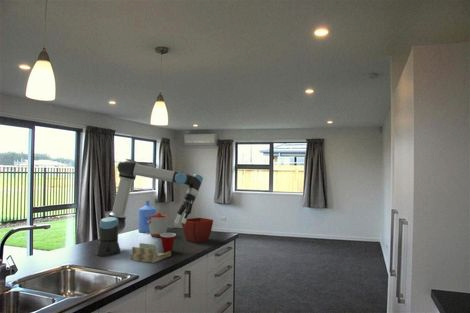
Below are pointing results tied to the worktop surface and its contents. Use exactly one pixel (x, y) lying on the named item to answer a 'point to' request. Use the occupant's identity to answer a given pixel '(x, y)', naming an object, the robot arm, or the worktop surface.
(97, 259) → the worktop surface
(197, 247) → the worktop surface
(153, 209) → the water jug
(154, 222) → the citrus juicer
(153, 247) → the pusher
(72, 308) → the worktop surface
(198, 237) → the plant pot
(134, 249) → the wooden tray
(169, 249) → the plastic cup
